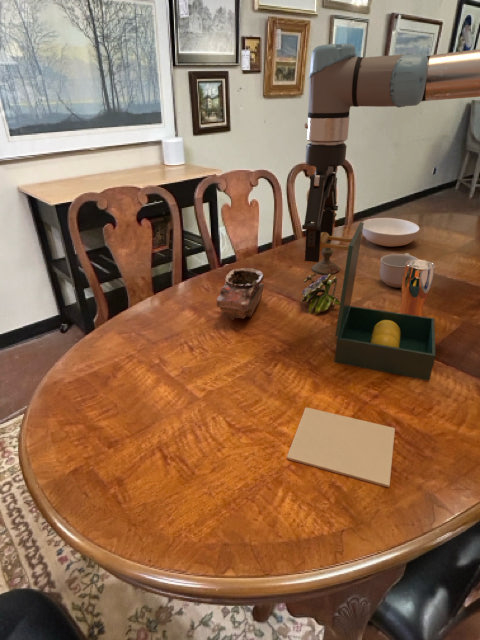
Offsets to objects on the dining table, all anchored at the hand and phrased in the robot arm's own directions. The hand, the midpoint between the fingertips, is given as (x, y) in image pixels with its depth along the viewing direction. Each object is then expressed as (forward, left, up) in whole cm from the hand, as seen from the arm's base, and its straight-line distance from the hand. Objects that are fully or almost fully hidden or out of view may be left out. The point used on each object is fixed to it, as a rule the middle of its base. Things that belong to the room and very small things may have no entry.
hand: (319, 250), depth 89 cm
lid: (-7, 0, -6) cm, 9 cm away
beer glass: (-21, -19, -23) cm, 37 cm away
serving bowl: (-11, -79, -23) cm, 83 cm away
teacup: (-17, -42, -23) cm, 51 cm away
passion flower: (+2, -18, -23) cm, 29 cm away
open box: (-16, 0, -23) cm, 28 cm away
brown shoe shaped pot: (+20, -8, -23) cm, 31 cm away
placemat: (-12, +31, -23) cm, 40 cm away
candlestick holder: (+6, -45, -23) cm, 51 cm away
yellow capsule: (-16, 0, -22) cm, 27 cm away
